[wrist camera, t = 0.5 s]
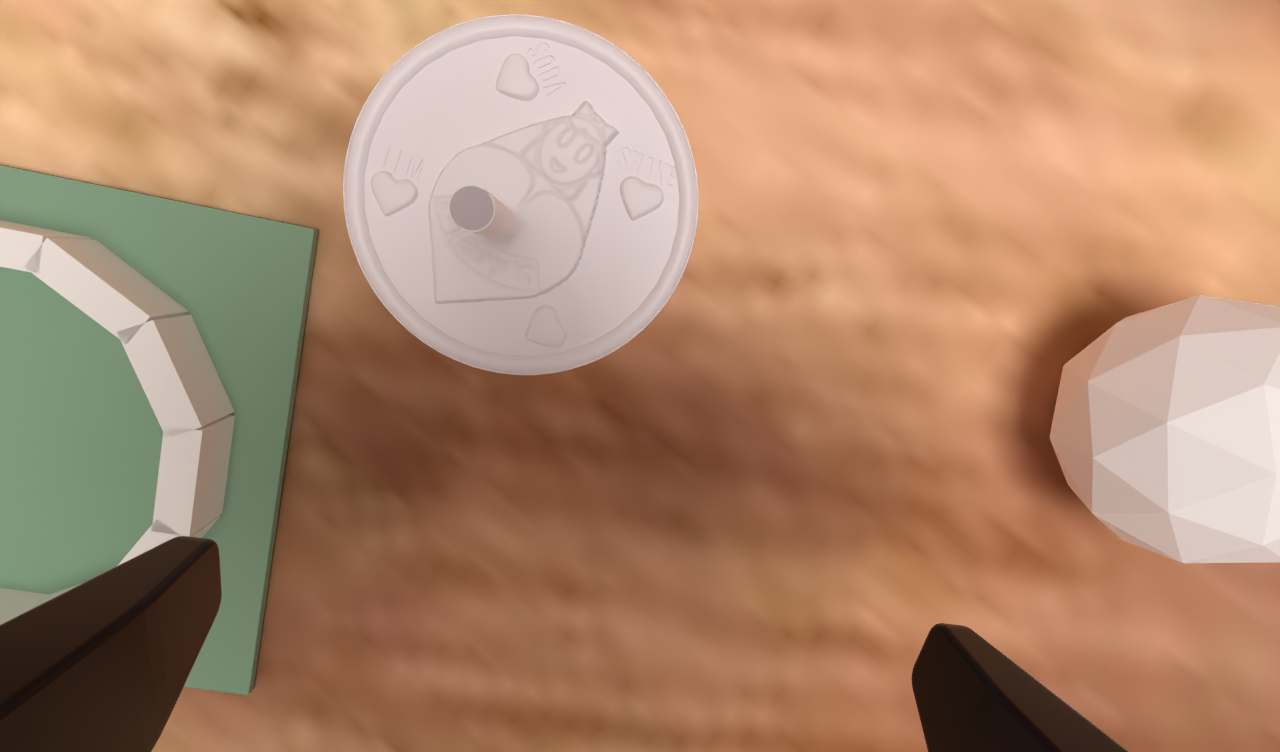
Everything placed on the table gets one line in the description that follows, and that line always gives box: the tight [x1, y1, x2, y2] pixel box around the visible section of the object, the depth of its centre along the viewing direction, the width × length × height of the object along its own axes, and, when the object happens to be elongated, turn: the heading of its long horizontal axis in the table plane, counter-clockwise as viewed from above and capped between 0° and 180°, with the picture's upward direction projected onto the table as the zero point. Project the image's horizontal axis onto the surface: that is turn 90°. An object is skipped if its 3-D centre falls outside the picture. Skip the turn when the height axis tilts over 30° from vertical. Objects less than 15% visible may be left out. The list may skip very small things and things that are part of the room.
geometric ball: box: [1050, 295, 1280, 563], centre depth 22 cm, size 8×8×8 cm
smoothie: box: [343, 14, 698, 375], centre depth 16 cm, size 6×6×14 cm
